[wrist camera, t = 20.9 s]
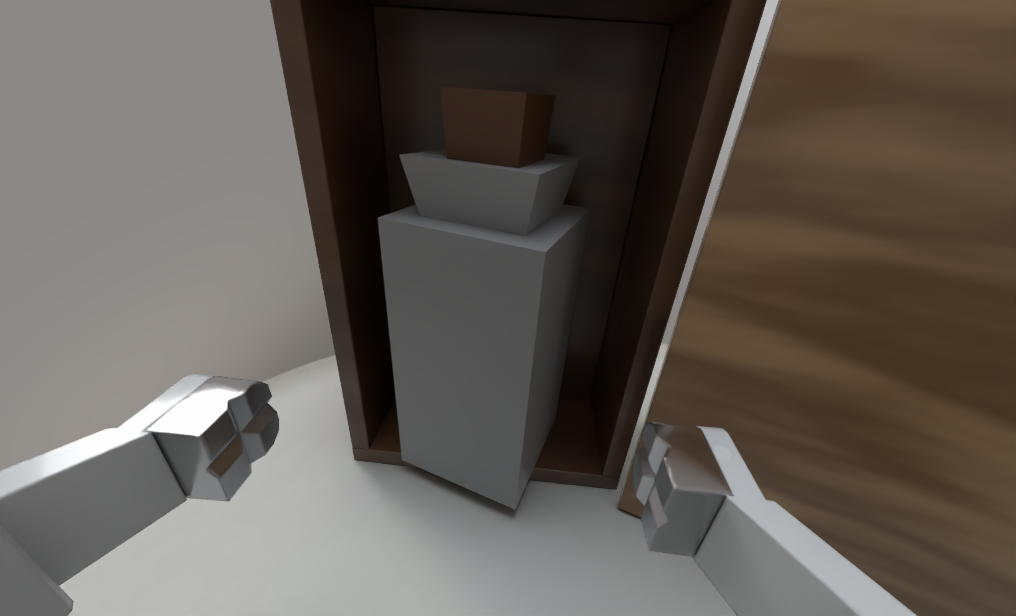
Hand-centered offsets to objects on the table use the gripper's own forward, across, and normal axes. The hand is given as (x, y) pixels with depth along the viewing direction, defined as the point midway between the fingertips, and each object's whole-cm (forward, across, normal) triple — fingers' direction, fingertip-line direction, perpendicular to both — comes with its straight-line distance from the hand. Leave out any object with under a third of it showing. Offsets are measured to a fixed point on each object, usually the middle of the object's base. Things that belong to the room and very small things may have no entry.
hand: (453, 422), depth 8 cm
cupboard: (+12, 0, +13) cm, 17 cm away
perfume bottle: (+10, 0, +12) cm, 16 cm away
